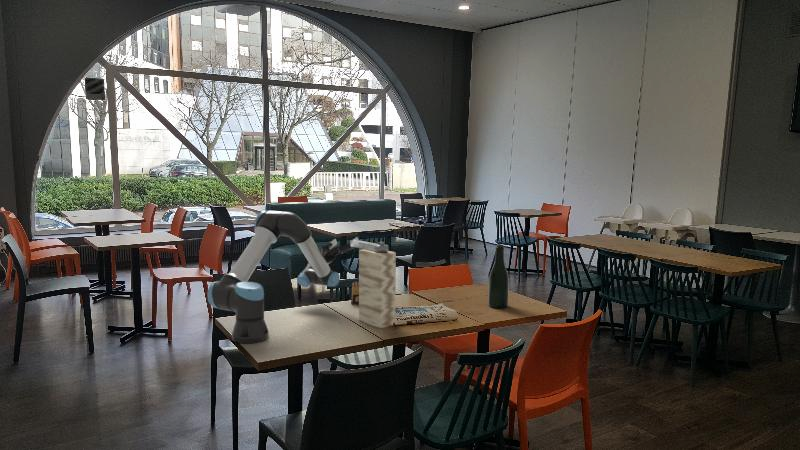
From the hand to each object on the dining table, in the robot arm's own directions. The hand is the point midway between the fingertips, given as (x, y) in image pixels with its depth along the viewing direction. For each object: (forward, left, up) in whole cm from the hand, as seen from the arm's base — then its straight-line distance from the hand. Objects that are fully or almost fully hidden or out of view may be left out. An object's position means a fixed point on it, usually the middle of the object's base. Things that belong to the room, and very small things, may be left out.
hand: (347, 240), depth 275 cm
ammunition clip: (+16, +10, -36) cm, 41 cm away
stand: (0, -24, -36) cm, 43 cm away
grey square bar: (0, -18, -2) cm, 18 cm away
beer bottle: (+68, -41, -36) cm, 87 cm away
